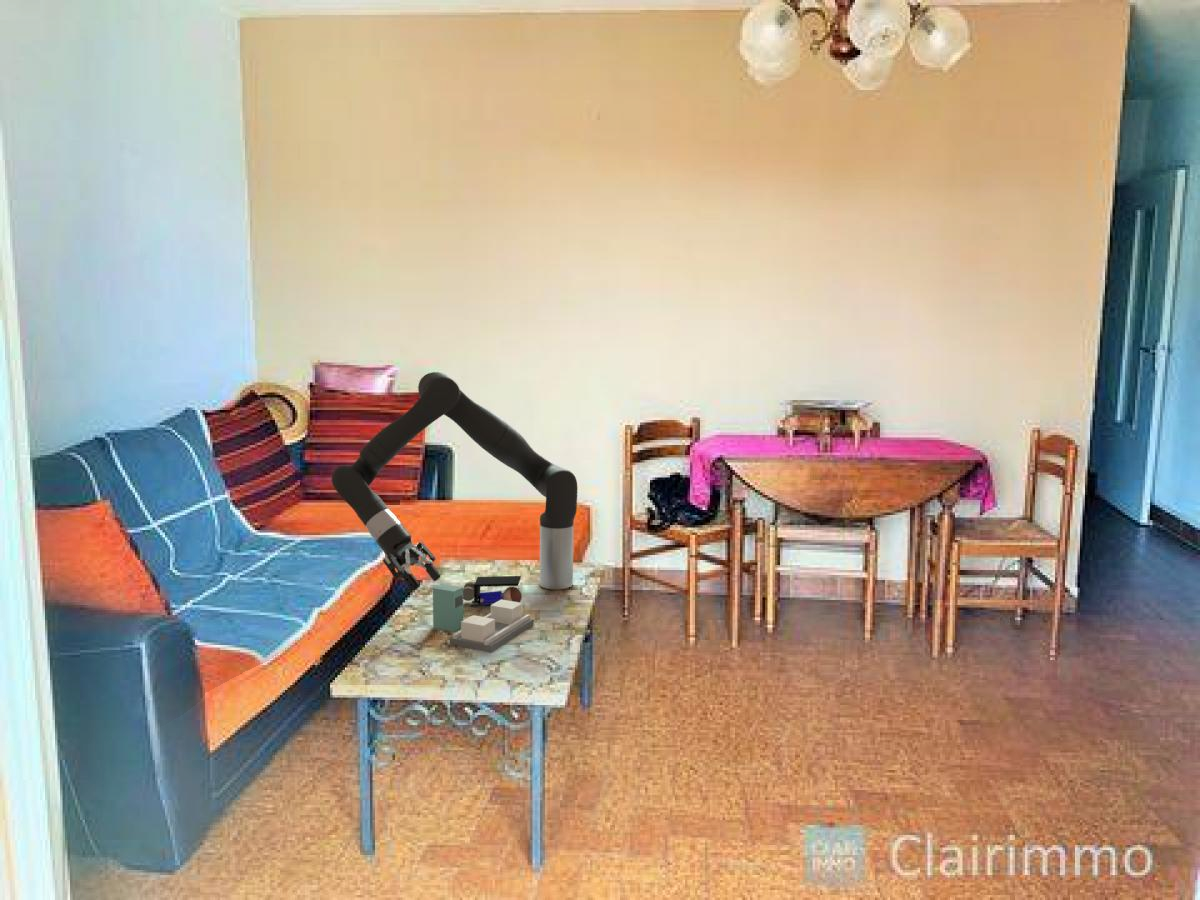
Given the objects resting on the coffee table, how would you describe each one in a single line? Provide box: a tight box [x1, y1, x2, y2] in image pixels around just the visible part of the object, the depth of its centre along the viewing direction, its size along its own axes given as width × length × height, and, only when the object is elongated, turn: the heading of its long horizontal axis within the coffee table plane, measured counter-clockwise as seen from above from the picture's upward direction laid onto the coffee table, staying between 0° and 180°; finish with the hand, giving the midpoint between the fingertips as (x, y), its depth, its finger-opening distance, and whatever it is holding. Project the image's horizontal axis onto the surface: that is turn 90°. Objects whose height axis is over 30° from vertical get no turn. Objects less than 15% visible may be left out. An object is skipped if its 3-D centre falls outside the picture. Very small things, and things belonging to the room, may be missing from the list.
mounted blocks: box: [460, 599, 524, 643], centre depth 225 cm, size 18×6×4 cm, turn 155°
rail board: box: [449, 612, 534, 653], centre depth 225 cm, size 20×11×2 cm, turn 155°
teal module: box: [432, 583, 464, 633], centre depth 229 cm, size 4×6×10 cm, turn 65°
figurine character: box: [463, 575, 523, 607], centre depth 246 cm, size 7×8×15 cm
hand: (427, 583), depth 231 cm, fingers open, 8 cm apart
